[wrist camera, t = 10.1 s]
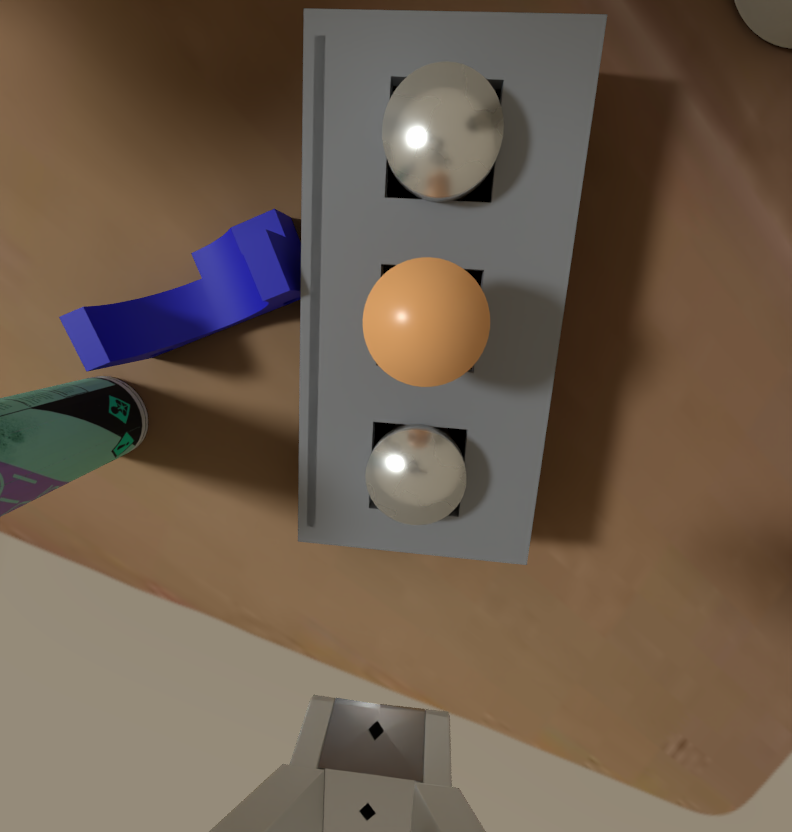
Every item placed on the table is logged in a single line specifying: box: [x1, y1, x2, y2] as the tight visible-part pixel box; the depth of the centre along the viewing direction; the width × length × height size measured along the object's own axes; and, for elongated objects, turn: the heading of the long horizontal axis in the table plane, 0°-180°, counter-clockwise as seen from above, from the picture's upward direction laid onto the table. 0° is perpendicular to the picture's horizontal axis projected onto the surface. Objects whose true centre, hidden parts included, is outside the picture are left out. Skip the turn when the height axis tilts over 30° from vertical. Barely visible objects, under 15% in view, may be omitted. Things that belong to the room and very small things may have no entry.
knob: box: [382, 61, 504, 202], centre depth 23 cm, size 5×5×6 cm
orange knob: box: [363, 257, 490, 387], centre depth 22 cm, size 5×5×6 cm
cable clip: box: [59, 209, 301, 371], centre depth 26 cm, size 12×4×6 cm, turn 110°
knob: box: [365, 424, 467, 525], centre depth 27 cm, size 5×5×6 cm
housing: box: [298, 8, 607, 565], centre depth 26 cm, size 13×26×5 cm, turn 176°
